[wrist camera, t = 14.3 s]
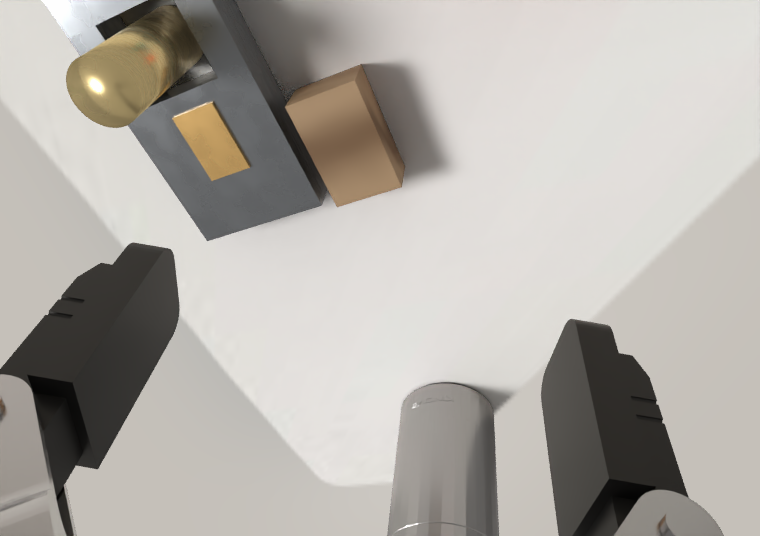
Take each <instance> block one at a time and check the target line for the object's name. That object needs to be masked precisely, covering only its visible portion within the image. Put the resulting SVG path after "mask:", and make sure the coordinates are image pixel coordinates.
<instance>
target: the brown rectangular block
mask: <svg viewBox="0 0 760 536" xmlns="http://www.w3.org/2000/svg"><path fill="white" fill-rule="evenodd" d="M285 108H286V110H287V112H288V114H289V116H290V118H291V119H292V121H293V123H294V125H295V127H296V129H297V131H298V133H299V135H300V137H301V139H302V141H303V143H304V144H305V146H306V148H307V150H308V152H309V154H310V156H311V158H312V160H313V162H314V164H315V166H316V168H317V169H318V171H319V173H320V175H321V177H322V179H323V181H324V183H325V185H326V187H327V189H328V191H329V193H330V195H331V196H332V198H333V200H334V202H335V204H336V206H337V207H339V206H342V205H346V204H349V203H352V202H355V201H358V200H362V199H365V198H368V197H371V196H375V195H378V194H381V193H384V192H388V191H391V190H394V189H397V188H401V187H402V182H403V176H404V170H405V166H404V163H403V161H402V159H401V156H400V154H399V152H398V149H397V147H396V145H395V142H394V140H393V137H392V135H391V133H390V130H389V128H388V126H387V123H386V121H385V119H384V116H383V114H382V112H381V109H380V107H379V105H378V102H377V100H376V98H375V95H374V93H373V91H372V88H371V86H370V84H369V81H368V79H367V77H366V74H365V72H364V70H363V67H362V65H358V66H355V67H353V68H350V69H348V70H345V71H343V72H340V73H337V74H335V75H332V76H330V77H327V78H325V79H322V80H320V81H317V82H314V83H312V84H309V85H307V86H304V87H302V88H299V89H296V90H295V91H294V93H293V95H292V96H291V98H290V99H289V101H288V103H287V104H286V106H285Z"/></svg>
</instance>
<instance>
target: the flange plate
mask: <svg viewBox="0 0 760 536" xmlns="http://www.w3.org/2000/svg"><path fill="white" fill-rule="evenodd" d="M42 1H43V2H44V4H45V5H46V7H47V8H48V10H49V11H50V12H51V14H52V15H53V17H54V18H55V20H56V21H57V23H58V24H59V26H60V27H61V28H62V30H63V31H64V33H65V34H66V36H67V37H68V39H69V40H70V42H71V43H72V44H73V46H74V47H75V49H76V50H77V52H78V53H79V55H80V56H82V55H83V54H85V53H87V52H88V51H90V50H91V49H93V48H94V47H96V46H98V45H99V44H101V43H102V42H104V41H106V40H107V39H109V38H110V37H112V36H113V35H115V34H117V33H118V32H120V31H121V30H123V29H125V28H126V25H125V24H124V22H123V21H122V19H121V17H120V16H119V14H120V13H122V12H124V11H126V10H128V9H130V8H132V7H134V6H136V5H138V4H140V3H142V2H144V1H146V0H42ZM174 2H175V4H176V5H177V7H178V9H179V11H180V12H181V14H182V16H183V18H184V19H185V21H186V23H187V25H188V26H189V28H190V30H191V32H192V33H193V35H194V37H195V39H196V40H197V42H198V44H199V46H200V47H201V49H202V51H203V53H204V54H205V56H206V58H207V60H208V61H209V63H210V65H211V67H212V69H213V70H214V71H212V72H209V73H207V74H204V75H202V76H200V77H197V78H195V79H193V80H190V81H188V82H185V83H183V84H181V85H178V86H176V87H174V88H171V89H169V90H167V91H165V92H164V93H163V94H162V95H161V96H160V97H159V98H158V99H157V100H156V101H155V102H153V103H152V104H151V105H150V106H149V107H148V108H147V109H146V110H145V111H144V112H143V113H142V114H140V115H139V116H138V117H137V118H136V119H135V120H134V121H133V122H132V123H130V124H129V125H128V126H129V128H130V129H131V131H132V132H133V133H134V135H135V136H136V138H137V139H138V141H139V142H140V144H141V145H142V147H143V148H144V149H145V151H146V152H147V154H148V155H149V157H150V158H151V160H152V161H153V163H154V164H155V166H156V167H157V168H158V170H159V171H160V173H161V174H162V176H163V177H164V179H165V180H166V182H167V183H168V184H169V186H170V187H171V189H172V190H173V192H174V193H175V195H176V196H177V198H178V199H179V201H180V202H181V203H182V205H183V206H184V208H185V209H186V211H187V212H188V214H189V215H190V217H191V218H192V219H193V221H194V222H195V224H196V225H197V227H198V228H199V230H200V231H201V233H202V234H203V235H204V237H205V238H206V240H207V241H209V240H213V239H216V238H219V237H222V236H225V235H229V234H232V233H235V232H238V231H241V230H244V229H248V228H251V227H254V226H257V225H260V224H264V223H267V222H270V221H273V220H276V219H280V218H283V217H286V216H289V215H292V214H296V213H299V212H302V211H305V210H308V209H312V208H315V207H318V206H321V205H322V203H323V200H324V198H325V195H326V192H327V190H328V189H327V187H326V185H325V183H324V181H323V179H322V177H321V175H320V173H319V171H318V169H317V168H316V166H315V164H314V162H313V160H312V158H311V156H310V154H309V152H308V150H307V148H306V146H305V144H304V143H303V141H302V139H301V137H300V135H299V133H298V131H297V129H296V127H295V125H294V123H293V121H292V119H291V118H290V116H289V114H288V112H287V110H286V108H285V106H286V104H287V102H286V100H285V98H284V96H283V94H282V92H281V90H280V88H279V86H278V84H277V82H276V80H275V79H274V77H273V75H272V73H271V71H270V69H269V67H268V65H267V63H266V61H265V59H264V57H263V55H262V53H261V51H260V49H259V48H258V46H257V44H256V42H255V40H254V38H253V36H252V34H251V32H250V30H249V28H248V26H247V24H246V22H245V20H244V18H243V17H242V15H241V13H240V11H239V9H238V7H237V5H236V3H235V1H234V0H174Z"/></svg>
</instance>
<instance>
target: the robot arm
mask: <svg viewBox="0 0 760 536" xmlns="http://www.w3.org/2000/svg"><path fill="white" fill-rule="evenodd" d="M178 317H179V297H178V288H177V279H176V270H175V261H174V255H173V252H172V250H171V249H168V248H162V247H156V246H150V245H145V244H139V243H131V244H129V245H128V246H127V247H126V248H125V250H124V251H123V252H122V253H121V255H120V256H119V257H118V258H117V260H116V261H115V262H114V264H113V265H110V264H104V263H100V264H98V265H97V266H95V267H93V268H92V269H90V270H88V271H87V272H85V273H83V274H82V275H80V276H78V277H77V278H76V279H75V280H74V282H73V283H72V284H71V285H70V286H69V288H68V289H67V290H66V291H65V292H64V294H63V295H62V298H61V300H58V301H57V302H56V303H55V304H54V306H53V307H52V308H51V309H50V310H49V314H48V315H45V316H44V318H43V319H42V320H41V321H40V322H39V324H38V325H37V326H36V327H35V328H34V329H33V331H32V332H31V333H30V334H29V335H28V337H27V338H26V339H25V340H24V341H23V343H22V344H21V345H20V346H19V347H18V349H17V350H16V351H15V352H14V353H13V355H12V356H11V357H10V358H9V359H8V360H7V362H6V363H5V364H4V365H3V367H2V368H1V369H0V536H77V535H76V530H75V525H74V521H73V516H72V512H71V507H70V502H69V497H68V492H67V488H66V485H65V483H66V481H67V479H68V478H69V476H70V474H71V473H72V471H73V469H74V468H75V466H76V465H77V466H83V467H88V468H94V469H98V468H99V466H100V464H101V463H102V461H103V459H104V457H105V455H106V454H107V452H108V450H109V448H110V447H111V445H112V443H113V441H114V439H115V438H116V436H117V434H118V432H119V431H120V429H121V427H122V425H123V423H124V421H125V420H126V418H127V416H128V415H129V413H130V411H131V409H132V407H133V406H134V404H135V402H136V400H137V398H138V397H139V395H140V393H141V391H142V389H143V388H144V386H145V384H146V382H147V381H148V379H149V377H150V375H151V373H152V372H153V370H154V368H155V366H156V365H157V363H158V361H159V359H160V357H161V355H162V354H163V352H164V350H165V349H166V347H167V345H168V343H169V341H170V340H171V338H172V336H173V334H174V332H175V329H176V326H177V322H178ZM541 399H542V408H543V416H544V424H545V431H546V439H547V447H548V455H549V462H550V471H551V479H552V486H553V493H554V501H555V510H556V517H557V525H558V533H559V536H724V535H723V533H722V531H721V529H720V527H719V526H718V524H717V523H716V521H715V520H714V519H713V518H712V517H711V515H710V514H709V513H708V512H707V511H706V510H705V509H704V508H702V507H701V506H700V505H698V504H697V503H696V502H694V501H692V500H691V499H689V498H688V495H687V492H686V489H685V486H684V483H683V479H682V476H681V474H680V470H679V467H678V464H677V461H676V458H675V455H674V452H673V449H672V446H671V442H670V439H669V437H668V433H667V430H666V427H665V424H663V423H662V420H663V418H662V415H661V412H660V409H659V406H658V405H656V401H657V400H656V396H655V393H654V390H653V387H652V384H651V381H650V378H649V376H648V375H647V374H646V372H645V371H644V370H643V369H642V367H641V366H640V365H639V364H638V362H637V361H636V360H635V359H634V357H633V356H631V355H626V354H620V353H618V350H617V346H616V343H615V339H614V335H613V332H612V329H611V327H610V326H608V325H604V324H598V323H592V322H587V321H581V320H575V319H570V320H568V322H567V323H566V325H565V327H564V329H563V331H562V333H561V336H560V338H559V340H558V343H557V345H556V347H555V349H554V352H553V354H552V356H551V359H550V361H549V363H548V365H547V368H546V370H545V373H544V377H543V382H542V391H541ZM496 480H497V479H496V457H495V432H494V414H493V409H492V407H491V404H490V403H489V402H488V400H487V399H486V398H485V397H484V396H482V395H481V394H480V393H478V392H476V391H474V390H473V389H471V388H468V387H465V386H462V385H456V384H445V383H440V384H432V385H428V386H424V387H421V388H419V389H417V390H415V391H414V392H412V393H411V394H410V395H408V397H407V398H406V399H405V400H404V402H403V405H402V408H401V417H400V426H399V435H398V442H397V451H396V460H395V470H394V479H393V488H392V498H391V506H390V516H389V525H388V535H387V536H499V523H498V503H497V481H496Z"/></svg>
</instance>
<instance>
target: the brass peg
mask: <svg viewBox="0 0 760 536" xmlns="http://www.w3.org/2000/svg"><path fill="white" fill-rule="evenodd" d="M202 55H203V51H202V49H201V47H200V46H199V44H198V42H197V40H196V39H195V37H194V35H193V33H192V32H191V30H190V28H189V26H188V25H187V23H186V21H185V19H184V18H183V16H182V14H181V12H180V11H179V9H178V7H177V6H172V5H165V6H161V7H158V8H156V9H155V10H153V11H152V12H150V13H148V14H147V15H145V16H144V17H142V18H140V19H139V20H137V21H136V22H134V23H132V24H131V25H129V26H128V27H126V28H125V29H123V30H121V31H120V32H118V33H117V34H115V35H113V36H112V37H110V38H109V39H107V40H106V41H104V42H102V43H101V44H99V45H98V46H96V47H94V48H93V49H91V50H90V51H88V52H87V53H85V54H83V55H82V56H80V57H79V58H77V59H75V60H74V61H73V62H72V63H71V65H70V66H69V68H68V71H67V75H66V83H67V89H68V92H69V95H70V97H71V99H72V101H73V102H74V104H75V105H76V106H77V108H78V109H79V110H80V111H81V112H82V113H83V114H84V115H85V116H86V117H88V118H89V119H91V120H92V121H94V122H96V123H98V124H100V125H103V126H106V127H112V128H119V127H124V126H127V125H129V124H130V123H132V122H133V121H134V120H135V119H136V118H137V117H138V116H139V115H140V114H142V113H143V112H144V111H145V110H146V109H147V108H148V107H149V106H150V105H151V104H152V103H153V102H155V101H156V100H157V99H158V98H159V97H160V96H161V95H162V94H163V93H164V92H165V91H166V90H167V89H169V88H170V87H171V86H172V85H173V84H174V83H175V82H176V81H177V80H178V79H179V78H180V77H182V76H183V75H184V74H185V73H186V72H187V71H188V70H189V69H190V68H191V67H192V66H193V65H195V64H196V63H197V62H198V61H199V60H200V58H201V57H202Z"/></svg>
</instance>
